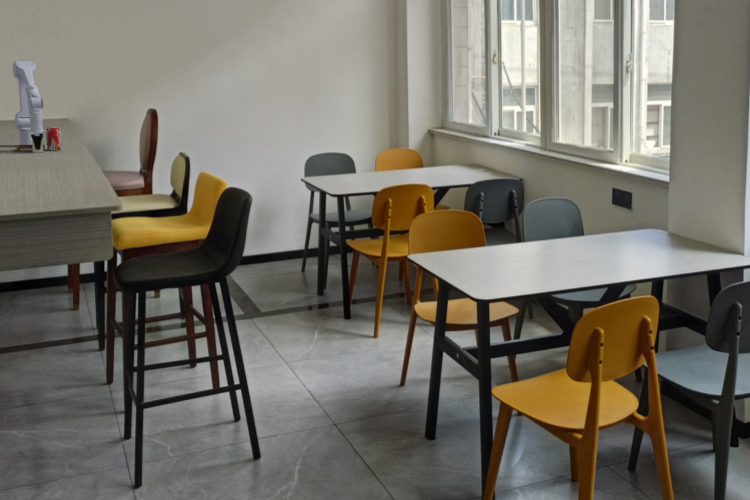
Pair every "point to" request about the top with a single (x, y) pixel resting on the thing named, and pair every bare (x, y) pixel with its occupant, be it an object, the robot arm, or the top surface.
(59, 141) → the soda can
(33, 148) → the block
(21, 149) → the tray
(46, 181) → the top surface
